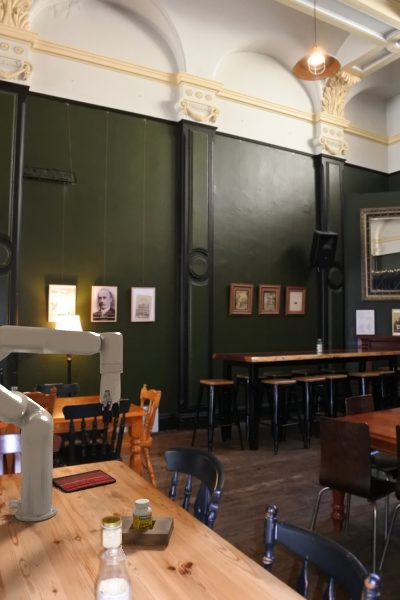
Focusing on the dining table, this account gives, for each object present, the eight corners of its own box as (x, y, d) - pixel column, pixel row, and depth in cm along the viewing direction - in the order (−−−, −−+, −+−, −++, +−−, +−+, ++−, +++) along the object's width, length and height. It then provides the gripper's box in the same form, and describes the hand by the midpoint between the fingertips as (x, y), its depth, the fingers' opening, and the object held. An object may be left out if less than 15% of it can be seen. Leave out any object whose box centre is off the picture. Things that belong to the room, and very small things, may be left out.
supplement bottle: (146, 530, 139) (146, 496, 140) (155, 536, 135) (155, 501, 136) (129, 534, 136) (129, 500, 137) (138, 541, 132) (138, 505, 133)
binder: (49, 478, 184) (99, 468, 197) (49, 484, 184) (99, 474, 197) (66, 490, 172) (118, 479, 185) (66, 497, 172) (118, 485, 185)
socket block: (109, 544, 130) (109, 532, 130) (120, 526, 142) (120, 516, 142) (167, 545, 129) (167, 534, 129) (173, 527, 141) (173, 517, 141)
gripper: (107, 367, 171) (107, 415, 169) (93, 370, 153) (92, 425, 152) (128, 366, 170) (127, 415, 169) (116, 370, 153) (115, 425, 152)
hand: (111, 420), depth 161 cm, fingers open, 9 cm apart
